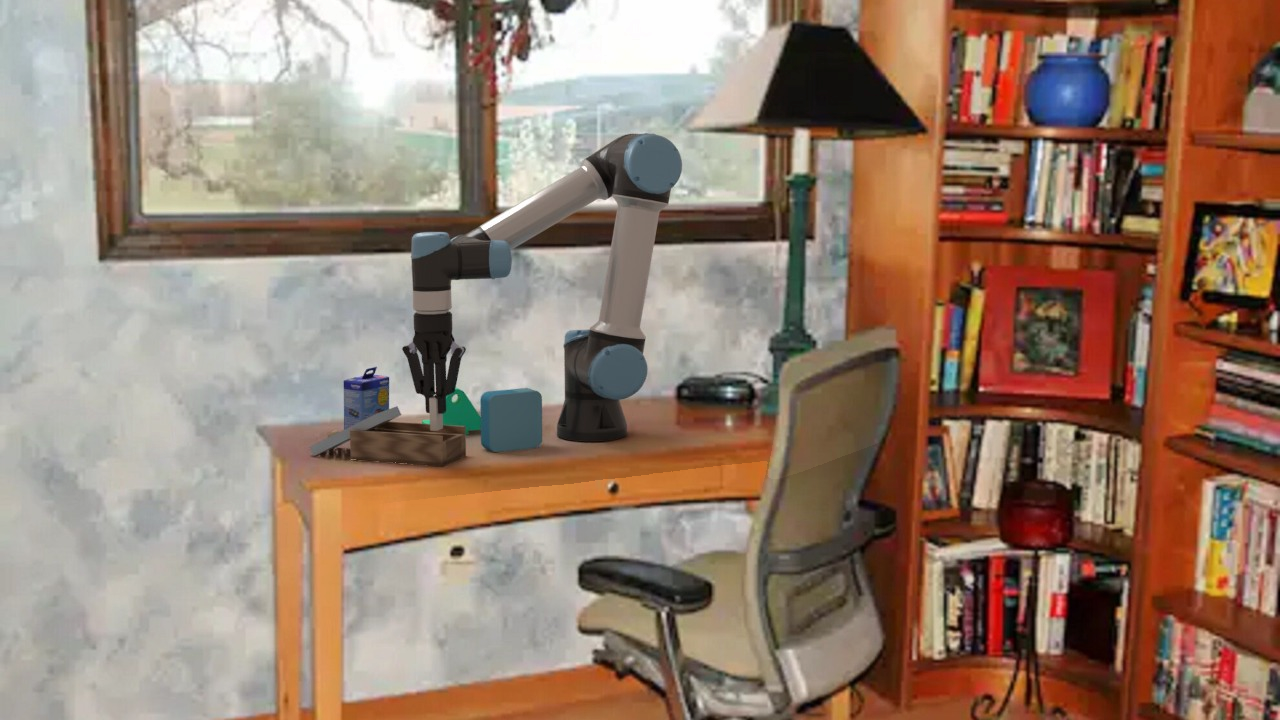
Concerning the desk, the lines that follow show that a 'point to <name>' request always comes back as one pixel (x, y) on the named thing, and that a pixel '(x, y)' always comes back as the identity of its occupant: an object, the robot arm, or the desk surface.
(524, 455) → the desk surface
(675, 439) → the desk surface
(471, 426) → the camera mount
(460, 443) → the pencil box
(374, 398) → the ink cartridge box
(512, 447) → the data package
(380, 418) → the cover plate
